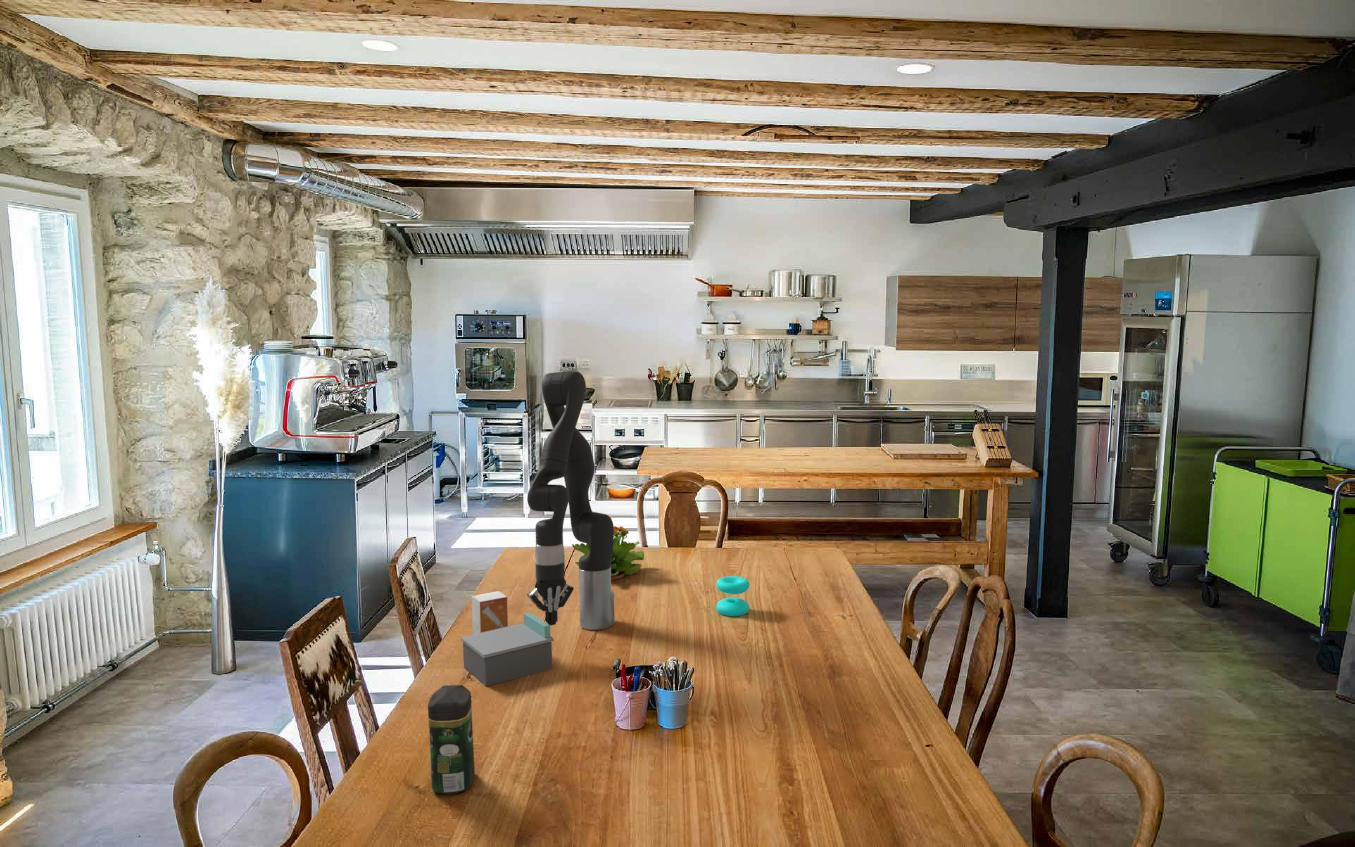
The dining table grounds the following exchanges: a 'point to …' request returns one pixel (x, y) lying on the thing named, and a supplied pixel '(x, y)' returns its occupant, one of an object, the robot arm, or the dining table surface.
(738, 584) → the donuts
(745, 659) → the dining table surface
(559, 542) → the robot arm
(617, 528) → the potted flower
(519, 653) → the base
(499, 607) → the small box
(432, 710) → the coffee jar
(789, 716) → the dining table surface
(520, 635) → the lid
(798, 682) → the dining table surface
